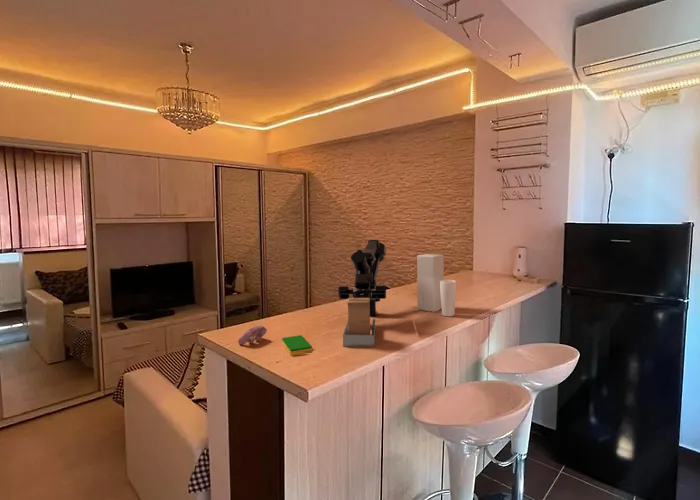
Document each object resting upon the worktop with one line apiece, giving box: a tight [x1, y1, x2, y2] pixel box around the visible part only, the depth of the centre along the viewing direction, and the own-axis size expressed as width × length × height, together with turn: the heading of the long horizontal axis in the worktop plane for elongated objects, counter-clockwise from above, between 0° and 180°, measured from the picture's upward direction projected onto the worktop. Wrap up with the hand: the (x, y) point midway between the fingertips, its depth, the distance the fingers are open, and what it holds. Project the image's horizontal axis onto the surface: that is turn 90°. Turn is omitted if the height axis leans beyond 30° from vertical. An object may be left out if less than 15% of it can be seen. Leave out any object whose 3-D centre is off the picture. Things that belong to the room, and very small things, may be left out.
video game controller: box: [237, 325, 268, 345], centre depth 137 cm, size 10×5×7 cm, turn 149°
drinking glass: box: [440, 279, 457, 317], centre depth 167 cm, size 7×7×15 cm
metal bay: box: [342, 318, 376, 348], centre depth 138 cm, size 20×10×5 cm, turn 175°
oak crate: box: [347, 297, 371, 335], centre depth 134 cm, size 7×7×14 cm
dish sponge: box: [281, 334, 313, 357], centre depth 131 cm, size 7×14×2 cm, turn 21°
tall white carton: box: [416, 253, 445, 313], centre depth 179 cm, size 9×9×25 cm
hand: (361, 310), depth 149 cm, fingers closed
